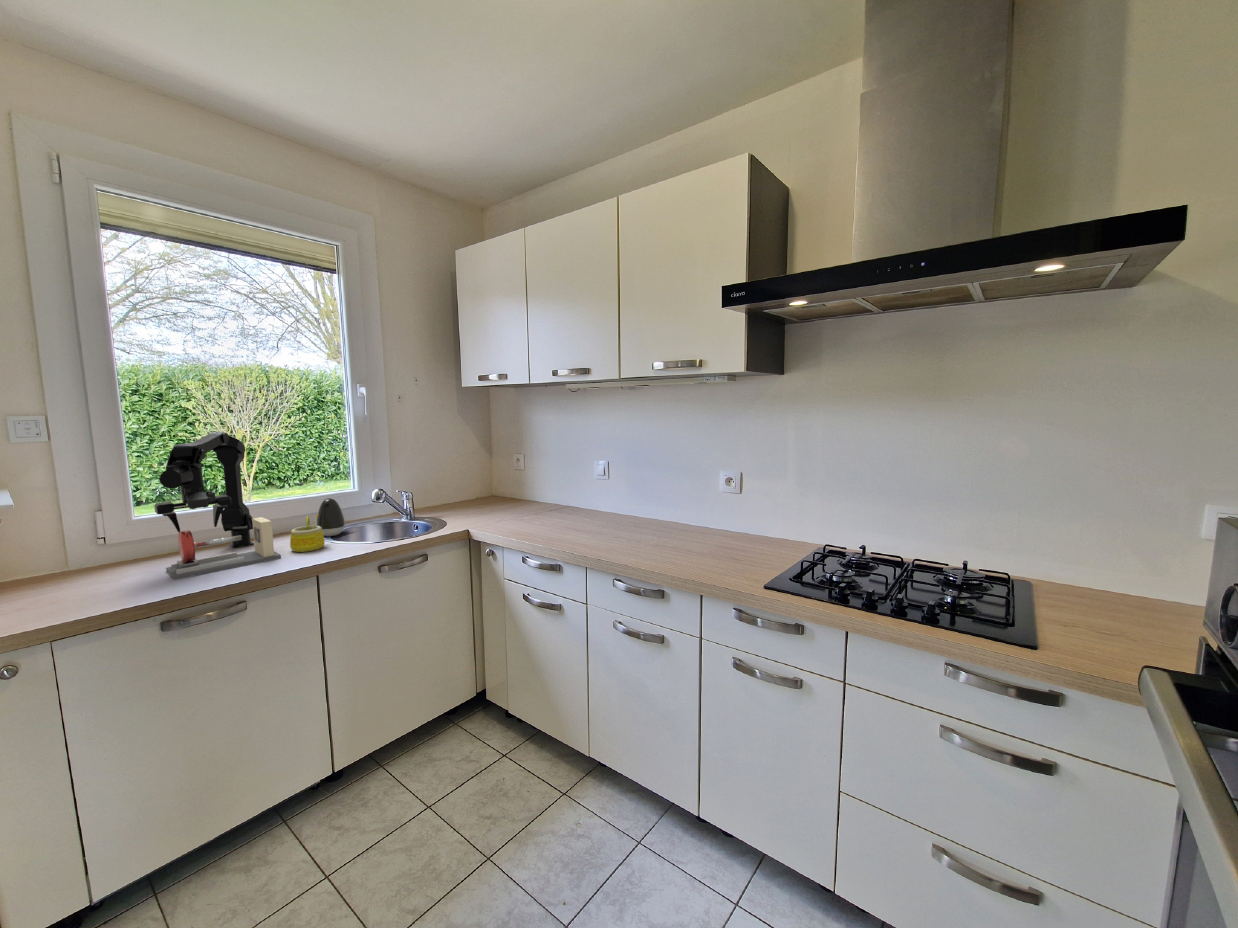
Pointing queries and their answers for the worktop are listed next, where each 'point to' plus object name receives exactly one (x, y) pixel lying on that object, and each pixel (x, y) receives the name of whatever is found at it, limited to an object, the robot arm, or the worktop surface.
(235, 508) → the robot arm
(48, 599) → the worktop surface
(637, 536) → the worktop surface
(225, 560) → the block
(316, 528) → the yellow birthday cake
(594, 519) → the worktop surface
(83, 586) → the worktop surface
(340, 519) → the dark grey tall dome
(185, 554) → the red wheel on axle
